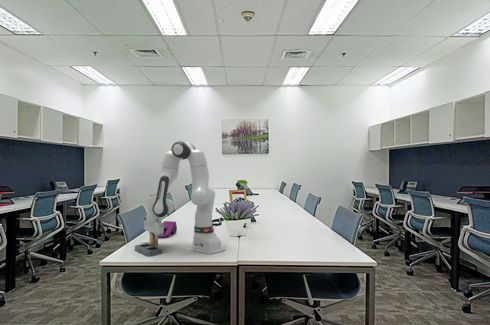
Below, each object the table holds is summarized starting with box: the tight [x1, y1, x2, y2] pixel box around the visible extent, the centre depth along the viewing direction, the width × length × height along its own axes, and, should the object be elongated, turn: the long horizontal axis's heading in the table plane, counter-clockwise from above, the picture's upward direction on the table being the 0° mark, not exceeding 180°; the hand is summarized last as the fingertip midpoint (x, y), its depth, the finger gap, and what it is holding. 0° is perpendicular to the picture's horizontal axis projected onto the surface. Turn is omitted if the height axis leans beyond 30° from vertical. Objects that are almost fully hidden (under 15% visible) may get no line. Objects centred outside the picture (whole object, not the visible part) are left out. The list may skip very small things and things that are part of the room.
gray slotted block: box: [134, 242, 164, 257], centre depth 189 cm, size 18×9×3 cm, turn 45°
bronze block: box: [149, 233, 159, 246], centre depth 205 cm, size 4×4×8 cm
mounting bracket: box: [158, 220, 178, 239], centre depth 232 cm, size 9×8×18 cm
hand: (153, 239), depth 205 cm, fingers closed on bronze block, 4 cm apart
